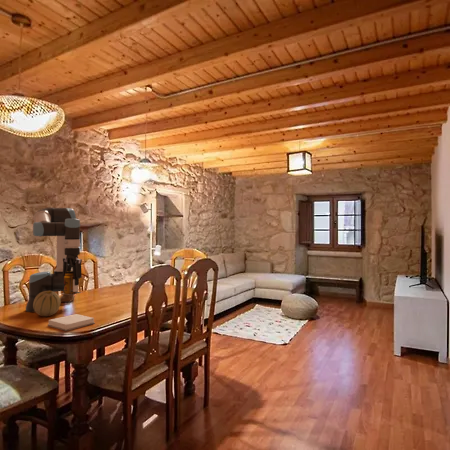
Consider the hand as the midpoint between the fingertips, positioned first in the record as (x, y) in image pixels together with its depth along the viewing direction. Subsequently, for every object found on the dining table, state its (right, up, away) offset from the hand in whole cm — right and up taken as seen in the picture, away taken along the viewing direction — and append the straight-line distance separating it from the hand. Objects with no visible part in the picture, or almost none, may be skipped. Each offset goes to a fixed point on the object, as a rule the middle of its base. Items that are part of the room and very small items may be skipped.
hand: (71, 290), depth 187 cm
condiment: (0, -2, 0) cm, 2 cm away
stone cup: (-29, -19, +61) cm, 70 cm away
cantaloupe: (-23, -18, +18) cm, 34 cm away
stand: (0, -18, 0) cm, 18 cm away
